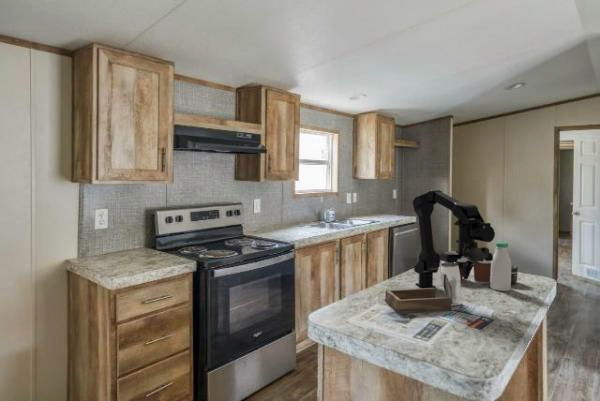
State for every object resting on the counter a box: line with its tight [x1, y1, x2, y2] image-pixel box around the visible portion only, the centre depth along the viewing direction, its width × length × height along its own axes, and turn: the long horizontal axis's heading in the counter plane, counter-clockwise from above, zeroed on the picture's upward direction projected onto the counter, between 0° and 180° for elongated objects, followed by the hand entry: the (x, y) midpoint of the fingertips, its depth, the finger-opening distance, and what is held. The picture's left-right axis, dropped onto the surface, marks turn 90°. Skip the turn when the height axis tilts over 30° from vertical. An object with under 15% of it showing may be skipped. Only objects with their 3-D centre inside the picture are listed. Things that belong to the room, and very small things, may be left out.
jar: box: [511, 264, 519, 286], centre depth 170 cm, size 10×10×8 cm
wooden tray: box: [384, 287, 453, 315], centre depth 140 cm, size 14×20×4 cm
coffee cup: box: [473, 260, 491, 285], centre depth 170 cm, size 9×9×12 cm
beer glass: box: [439, 261, 463, 307], centre depth 141 cm, size 7×7×15 cm
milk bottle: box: [489, 241, 512, 292], centre depth 159 cm, size 8×8×20 cm
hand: (465, 279), depth 142 cm, fingers closed
